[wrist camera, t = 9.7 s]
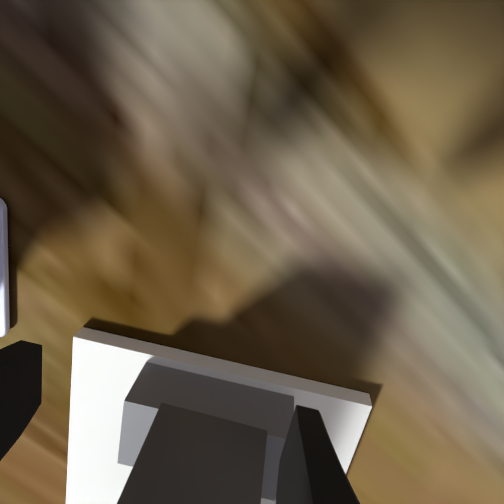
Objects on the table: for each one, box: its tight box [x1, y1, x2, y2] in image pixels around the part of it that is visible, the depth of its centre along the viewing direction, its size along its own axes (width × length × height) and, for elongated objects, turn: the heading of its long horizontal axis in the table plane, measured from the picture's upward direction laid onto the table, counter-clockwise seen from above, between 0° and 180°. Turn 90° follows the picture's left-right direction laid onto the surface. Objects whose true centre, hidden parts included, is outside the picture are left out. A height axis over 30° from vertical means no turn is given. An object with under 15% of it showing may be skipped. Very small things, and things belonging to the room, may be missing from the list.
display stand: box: [66, 327, 372, 504], centre depth 24 cm, size 16×15×4 cm
